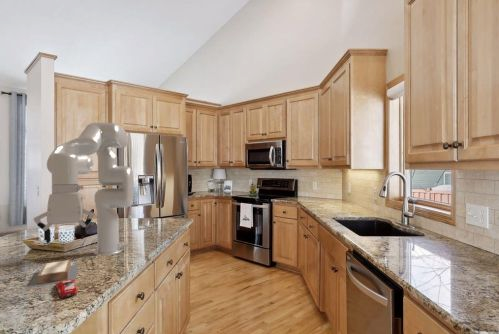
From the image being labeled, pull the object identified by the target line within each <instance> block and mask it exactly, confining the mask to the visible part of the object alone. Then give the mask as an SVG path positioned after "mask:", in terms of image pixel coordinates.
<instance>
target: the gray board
mask: <svg viewBox="0 0 499 334" xmlns="http://www.w3.org/2000/svg"><path fill="white" fill-rule="evenodd" d="M78 268H79V264H73V265H71V269H70V273H69V277H68V280H70V279H72V280H75V281H76V279H77V272H78ZM40 271H41V269H40V270H37V272H36V273H35V274H34V277H33V278H32V280H31V281H30V283H29V285H28V287H27V289H33V288H37V287H44V286H50V285H56V284H57V283H58V282H60V281H56V282H50V283H44V284H39V285H38V278H37V276H38V274H39V273H40ZM62 281H63V280H62Z"/></svg>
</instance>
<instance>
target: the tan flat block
mask: <svg viewBox="0 0 499 334" xmlns="http://www.w3.org/2000/svg"><path fill="white" fill-rule="evenodd" d="M71 266H72V260H71V259H69V260H68V259H67V260H62V261H53V262H47V263H44V264H43V265H42V267H41V268H40V270H41V271H40V270H39V271H40V273H39V274H38V276H37V278H38V285H39V284H44V283H50V282H56V281H62V280H68V277H69V273H70V269H71Z"/></svg>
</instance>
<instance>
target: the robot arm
mask: <svg viewBox="0 0 499 334" xmlns="http://www.w3.org/2000/svg"><path fill="white" fill-rule="evenodd" d="M128 144H129V134H128V133H127V131H126V130H125V129H123V128H122V127H121V125H119V124H118V123H115V122H91V123H88V124H87V125H86V126H85V127H84V129H83V130H82V132H81V133H80V134H79V136H78V137H76V138H74V139H71V140H69V141H66V142H64V143H62V144H60V145H58V146H56V148H55V149H53V151H52V152H51V153H50V154H49V156H48V157H47V158H48V159H47V161H46V168H47V170H48V171H49V173H50V174H51V193H49V196H48V201H47V208H46V211H45V212H43V213H41V214H39V215H37V216H35V217H34V218H33V221H34V222H35V224H36V226H37V227H39V228H40V229H42V231H43V232H44V233H43V234H44V235H43V237H44V238H43V240H44V241H46V244H49V243H50V242H51V229H50V228H51V226H52V225H64V224H75V223H76V224H77V223H78V224H79V225H80V226H81V227H80V239H81V240H84V237H86V232H87V231H86V229H87V228H86V227H87V226H88V225H89V224H90V223H91V222H92V221H93V218H94V216H95V213H94V212H92V211H90V210H87V209H84V208H83V207H84V206H83V198H82V193H81V192H80V191H81V190H84V186H83V185H80V184H79V175H87V174H89V173H91V171H92V170H93V168H94V160H93V159H92V157H91V155H92V154H96V156H97V168H98V169H97V179H98V183H99V185H101V186H104V187H105V186H110V188H109V187H108V188H100V189H98V190H97V191H96V192H95V193H94V204H95V208H96V209H95V210H96V230H97V231H96V232H97V233H96V234H97V235H96V236H97V237H96V238H97V240H96V241H97V243H96V244H97V249H96V250H95V251H93V255H96V256H109V255H111V256H114V255H115V256H116V255H118V254H121V253H122V252H123V248H129V247H130V242H127V243H126V242H122V243H121V242H120V235H119V234H120V232H119V231H120V229H119V227H120V226H119V225H120V223H119V222H120V221H119V219H120V217H119V214H118V212H117V211H116V210H115V208H117V209H118V208H129V207H132V205H133V203H134V196H135V195H134V189H135V188H134V173H133V172H134V171H133V169H132V168H131V167H129V166H126V165H124V166H122V165H120V166H119V165H118V156H117V154H116V152H115V151H114V150H113V149H124V148H126V147H127V146H128ZM113 186H121V187H122V188H121V187H119V188H118V187H116V188H115V187H113ZM112 187H113V188H112ZM84 215H87V216H88V218H87V219H86V220H85V221H84V219H83V218H84ZM44 218H46V222H47V224H45V223H44V222H42V221H41V219H44Z"/></svg>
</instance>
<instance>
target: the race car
mask: <svg viewBox="0 0 499 334" xmlns="http://www.w3.org/2000/svg"><path fill="white" fill-rule="evenodd" d="M75 281H76V279H75V280H72V279H70V280H63V281H60V282H58V283H56V284H55V287H56V290H57V293H58V295H59V296H58V297H59V299H64V298H65V299H66V298H68V297H72V296H75V295H78V287H77V285H76V283H75Z"/></svg>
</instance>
